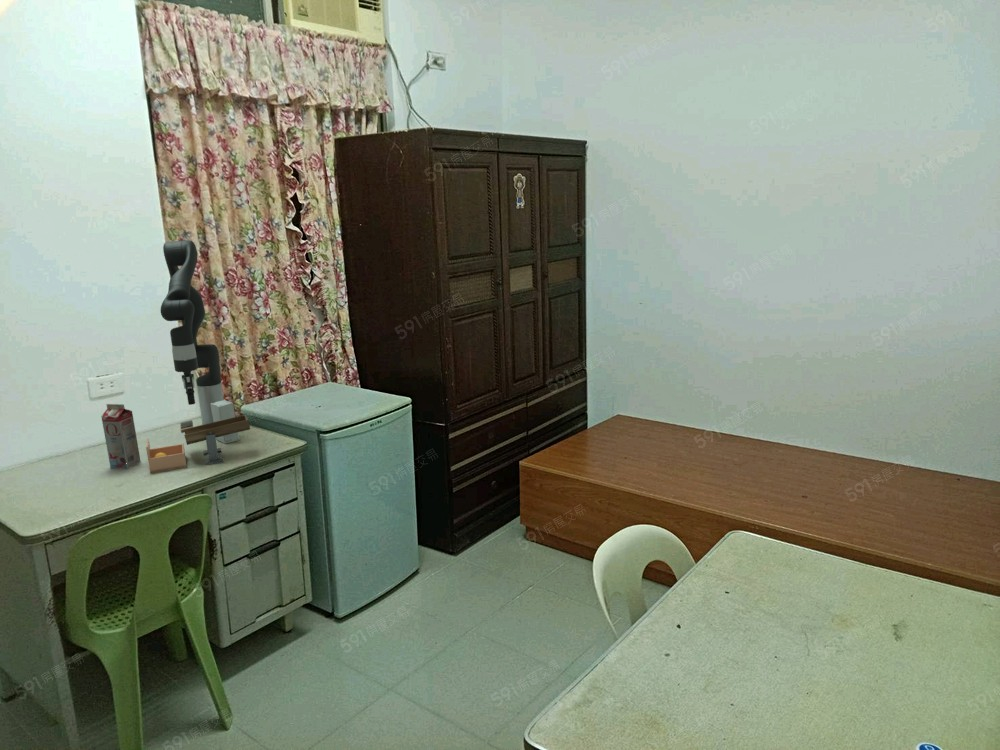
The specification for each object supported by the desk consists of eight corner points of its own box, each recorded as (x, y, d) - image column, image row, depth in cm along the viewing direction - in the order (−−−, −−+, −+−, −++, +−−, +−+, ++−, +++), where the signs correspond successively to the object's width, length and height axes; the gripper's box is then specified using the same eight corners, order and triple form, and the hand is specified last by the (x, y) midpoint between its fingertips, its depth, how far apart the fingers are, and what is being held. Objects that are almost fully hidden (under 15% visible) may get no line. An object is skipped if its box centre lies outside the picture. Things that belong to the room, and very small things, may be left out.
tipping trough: (182, 431, 254) (179, 421, 253) (245, 416, 263) (242, 407, 262) (183, 446, 238) (181, 435, 237) (250, 429, 247) (248, 419, 246)
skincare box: (239, 440, 265) (234, 402, 262) (224, 444, 261) (218, 406, 257) (230, 435, 271) (225, 398, 267) (214, 439, 267) (209, 402, 263)
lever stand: (203, 452, 253) (199, 426, 250) (221, 450, 255) (217, 423, 253) (205, 465, 240) (201, 437, 238) (223, 461, 243) (220, 434, 240)
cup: (150, 462, 244) (146, 438, 242) (185, 457, 249) (182, 433, 247) (150, 473, 235) (146, 447, 232) (186, 467, 239) (182, 442, 237)
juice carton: (127, 468, 240) (116, 407, 234) (110, 468, 241) (99, 406, 236) (140, 461, 246) (130, 401, 241) (124, 461, 247) (113, 401, 242)
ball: (166, 462, 243) (154, 462, 242) (167, 450, 243) (154, 451, 241) (167, 465, 240) (154, 465, 238) (167, 454, 239) (154, 454, 237)
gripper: (172, 354, 250) (179, 398, 254) (173, 362, 237) (180, 407, 241) (195, 352, 253) (201, 395, 257) (197, 359, 240) (203, 404, 244)
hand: (191, 401), depth 249 cm, fingers open, 8 cm apart
